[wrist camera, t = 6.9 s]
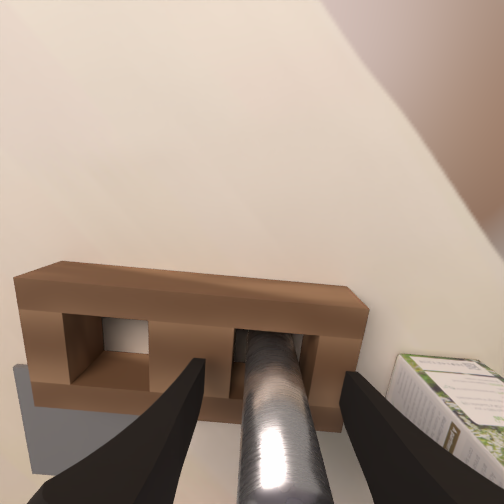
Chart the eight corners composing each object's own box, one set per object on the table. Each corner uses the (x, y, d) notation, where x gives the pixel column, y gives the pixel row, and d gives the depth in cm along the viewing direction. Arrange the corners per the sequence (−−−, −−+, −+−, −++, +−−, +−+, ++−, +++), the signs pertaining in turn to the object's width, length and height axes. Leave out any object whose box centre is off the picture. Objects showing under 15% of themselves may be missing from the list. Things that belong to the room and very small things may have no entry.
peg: (282, 362, 16) (315, 561, 7) (241, 351, 16) (224, 540, 7) (297, 325, 15) (352, 496, 7) (254, 313, 15) (253, 471, 7)
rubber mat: (159, 479, 19) (157, 483, 19) (35, 469, 19) (32, 473, 19) (158, 376, 17) (156, 379, 16) (17, 364, 16) (12, 367, 16)
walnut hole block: (326, 390, 17) (341, 432, 14) (73, 369, 16) (34, 406, 14) (347, 286, 15) (369, 309, 12) (61, 260, 15) (13, 277, 12)
